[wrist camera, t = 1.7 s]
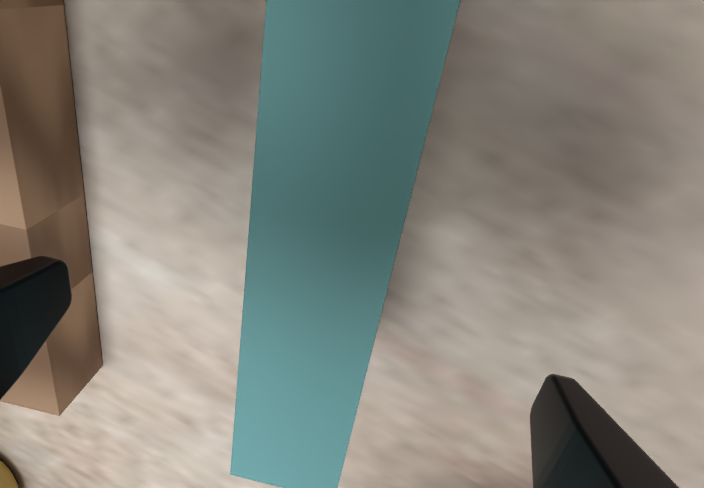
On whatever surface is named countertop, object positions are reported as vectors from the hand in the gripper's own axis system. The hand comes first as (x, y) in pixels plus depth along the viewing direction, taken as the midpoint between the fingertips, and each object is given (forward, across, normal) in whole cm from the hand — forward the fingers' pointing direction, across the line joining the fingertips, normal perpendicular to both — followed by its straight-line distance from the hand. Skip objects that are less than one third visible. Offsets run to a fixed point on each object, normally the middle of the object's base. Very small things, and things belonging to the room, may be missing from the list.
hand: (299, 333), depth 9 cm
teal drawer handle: (+9, 0, 0) cm, 9 cm away
